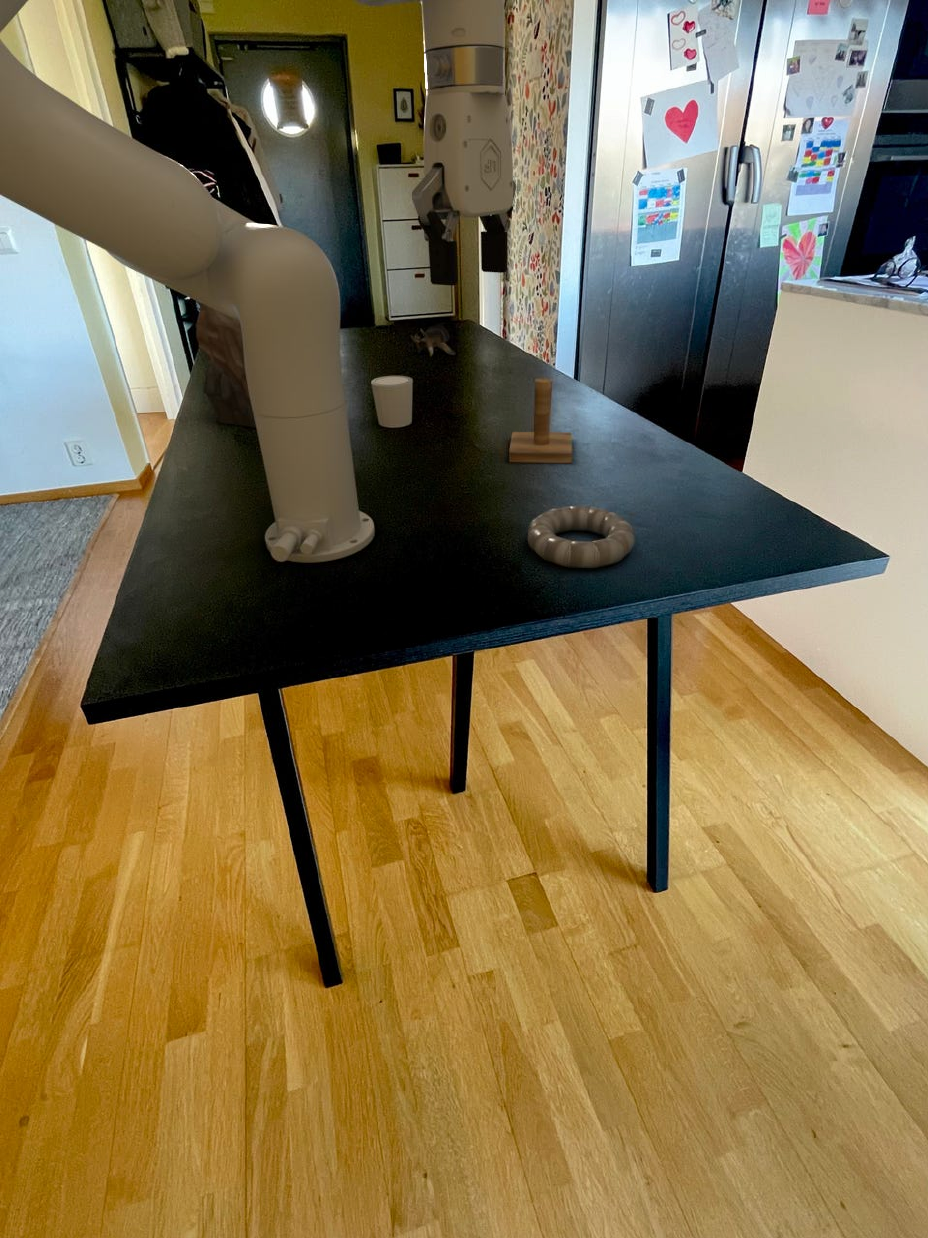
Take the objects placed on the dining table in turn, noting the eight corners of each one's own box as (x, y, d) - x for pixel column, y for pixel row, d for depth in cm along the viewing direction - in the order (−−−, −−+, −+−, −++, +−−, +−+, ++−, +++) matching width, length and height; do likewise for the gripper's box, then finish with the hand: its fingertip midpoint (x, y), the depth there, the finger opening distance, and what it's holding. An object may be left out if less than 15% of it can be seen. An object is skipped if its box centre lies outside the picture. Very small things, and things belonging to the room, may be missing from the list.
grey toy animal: (411, 353, 150) (449, 346, 148) (409, 322, 150) (446, 314, 148) (422, 365, 158) (458, 358, 155) (419, 335, 158) (456, 328, 155)
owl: (208, 422, 116) (177, 296, 104) (253, 402, 125) (229, 284, 114) (268, 429, 111) (242, 299, 100) (309, 408, 121) (291, 286, 110)
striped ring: (637, 574, 69) (640, 551, 68) (525, 570, 70) (526, 547, 69) (627, 525, 79) (630, 503, 77) (529, 522, 80) (530, 500, 78)
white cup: (409, 429, 110) (406, 386, 106) (369, 427, 111) (365, 385, 107) (419, 416, 115) (417, 375, 111) (382, 415, 116) (378, 374, 113)
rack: (571, 463, 95) (576, 388, 90) (509, 462, 96) (510, 388, 91) (570, 441, 103) (575, 371, 97) (512, 441, 104) (513, 371, 98)
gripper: (443, 66, 55) (452, 292, 65) (543, 78, 67) (539, 268, 77) (375, 75, 59) (393, 287, 69) (481, 85, 70) (484, 266, 80)
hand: (470, 277), depth 73 cm, fingers open, 9 cm apart
